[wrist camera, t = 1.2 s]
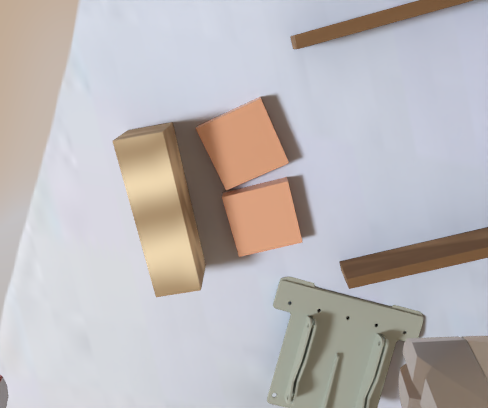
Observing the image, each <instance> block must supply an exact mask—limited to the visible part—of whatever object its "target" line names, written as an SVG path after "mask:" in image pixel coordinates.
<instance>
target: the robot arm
mask: <svg viewBox="0 0 488 408" xmlns="http://www.w3.org/2000/svg"><path fill="white" fill-rule="evenodd" d="M402 353H403V356H404V359H405V361H406V364H405V365H403V366H402V367H401V368H400V371H399V380H398V383H399V396H400V401H401V406H402V408H488V336H466V337H459V336H457V337H430V338H407V339H406V341H405V342H404V347H403V352H402ZM7 401H8V389H7V384H6V382H5V380H4V378H3V377H2V376H1V375H0V408H6V406H7Z"/></svg>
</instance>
